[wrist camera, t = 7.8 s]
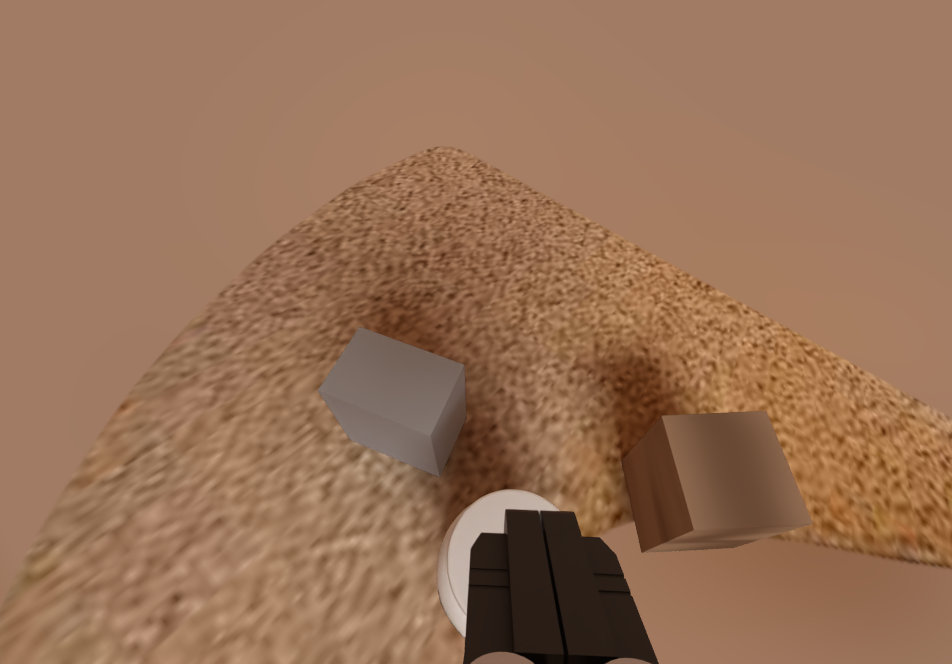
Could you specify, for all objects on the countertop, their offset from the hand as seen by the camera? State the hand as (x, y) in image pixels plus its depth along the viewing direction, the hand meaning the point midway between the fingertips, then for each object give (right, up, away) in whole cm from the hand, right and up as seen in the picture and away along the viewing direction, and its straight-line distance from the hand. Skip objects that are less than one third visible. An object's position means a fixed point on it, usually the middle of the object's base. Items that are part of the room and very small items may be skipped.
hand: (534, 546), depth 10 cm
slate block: (-5, -1, +18) cm, 19 cm away
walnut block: (+10, -5, +16) cm, 20 cm away
